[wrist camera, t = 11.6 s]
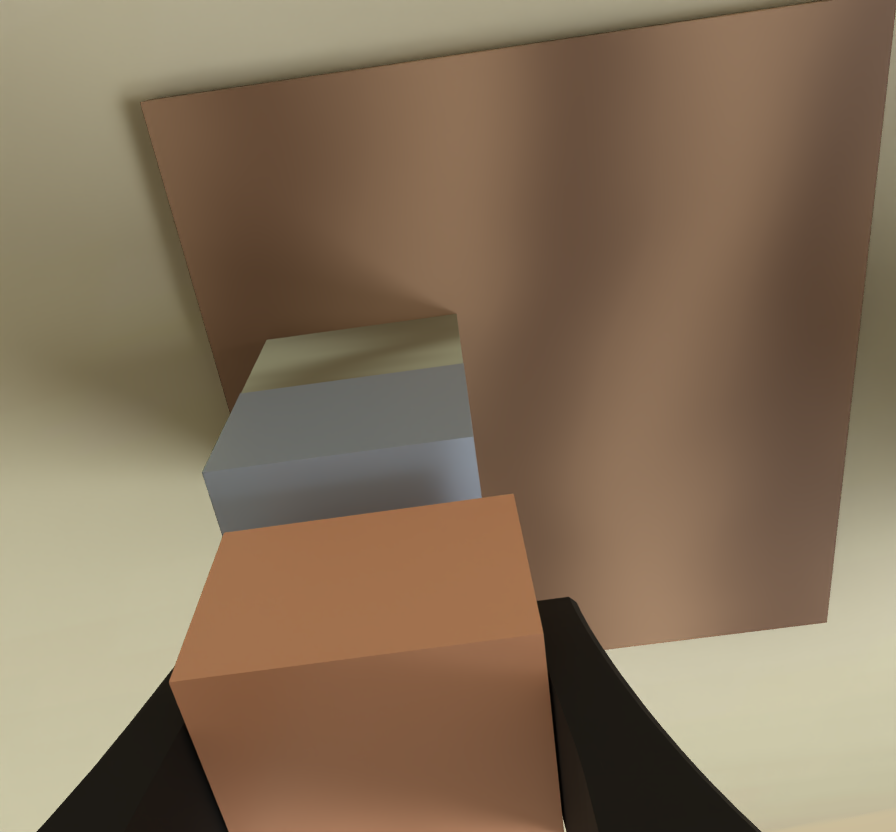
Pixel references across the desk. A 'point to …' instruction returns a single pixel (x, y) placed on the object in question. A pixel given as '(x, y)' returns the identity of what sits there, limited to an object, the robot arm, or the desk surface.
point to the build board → (577, 283)
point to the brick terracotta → (374, 676)
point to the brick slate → (344, 449)
